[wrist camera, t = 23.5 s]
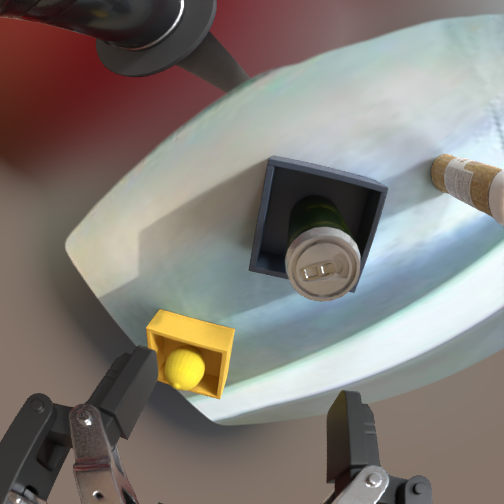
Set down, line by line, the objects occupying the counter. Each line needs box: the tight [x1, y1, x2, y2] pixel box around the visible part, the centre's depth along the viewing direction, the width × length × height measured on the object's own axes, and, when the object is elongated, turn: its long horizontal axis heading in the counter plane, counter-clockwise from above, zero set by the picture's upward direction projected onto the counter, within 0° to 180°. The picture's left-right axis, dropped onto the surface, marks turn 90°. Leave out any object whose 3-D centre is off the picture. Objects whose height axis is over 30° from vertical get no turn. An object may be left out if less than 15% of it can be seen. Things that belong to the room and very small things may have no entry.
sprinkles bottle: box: [431, 154, 504, 226], centre depth 18 cm, size 5×5×13 cm
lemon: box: [164, 346, 205, 390], centre depth 36 cm, size 6×6×8 cm
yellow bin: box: [146, 309, 235, 399], centre depth 38 cm, size 11×11×5 cm
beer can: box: [285, 195, 360, 302], centre depth 23 cm, size 5×5×12 cm
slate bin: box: [249, 156, 388, 293], centre depth 27 cm, size 11×11×5 cm
